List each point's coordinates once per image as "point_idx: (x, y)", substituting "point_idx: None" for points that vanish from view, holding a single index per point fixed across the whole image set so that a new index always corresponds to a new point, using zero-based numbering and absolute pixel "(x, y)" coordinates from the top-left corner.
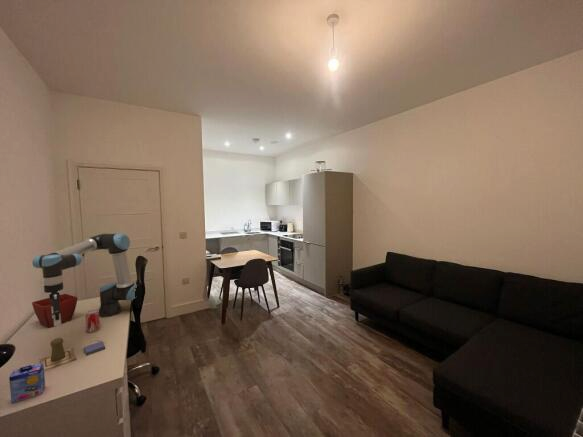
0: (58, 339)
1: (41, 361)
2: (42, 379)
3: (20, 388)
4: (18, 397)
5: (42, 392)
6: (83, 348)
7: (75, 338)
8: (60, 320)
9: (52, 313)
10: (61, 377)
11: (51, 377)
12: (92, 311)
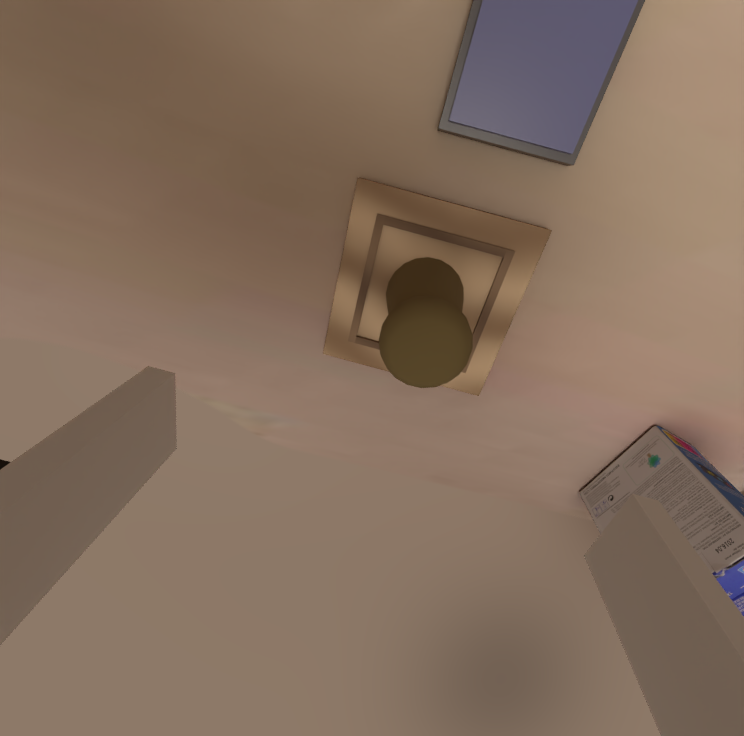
0: (446, 350)
1: (366, 357)
2: (732, 488)
3: None
4: None
5: (694, 447)
6: (451, 132)
7: (158, 82)
8: (713, 587)
9: (110, 516)
10: (659, 358)
11: (593, 381)
12: None
